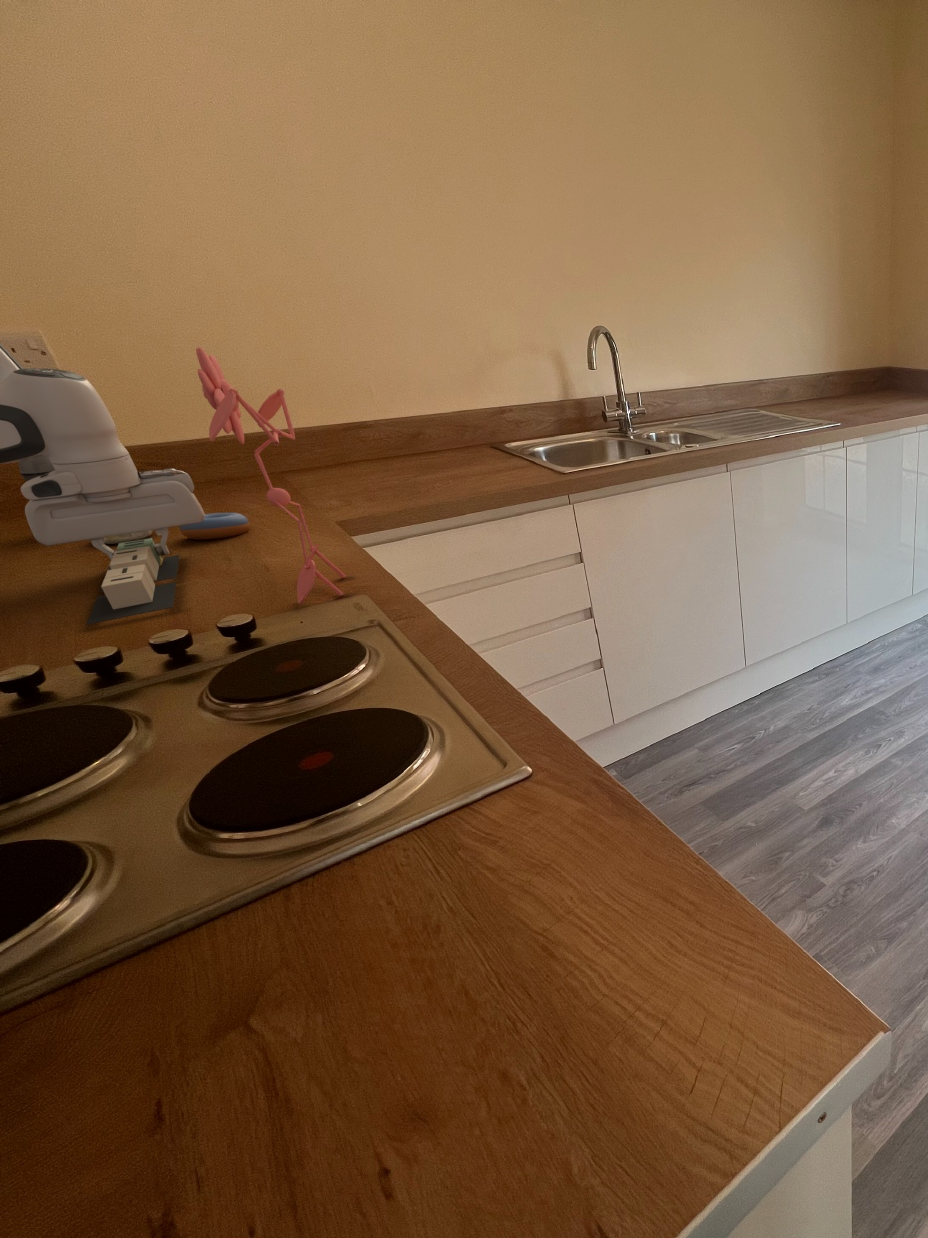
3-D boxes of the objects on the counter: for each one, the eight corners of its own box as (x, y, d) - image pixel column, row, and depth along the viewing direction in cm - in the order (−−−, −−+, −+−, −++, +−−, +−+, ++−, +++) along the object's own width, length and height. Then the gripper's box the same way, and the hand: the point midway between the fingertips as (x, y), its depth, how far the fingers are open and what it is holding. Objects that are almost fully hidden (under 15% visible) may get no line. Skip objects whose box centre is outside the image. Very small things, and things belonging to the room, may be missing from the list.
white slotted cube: (116, 600, 103) (104, 577, 102) (118, 592, 106) (106, 569, 105) (154, 593, 106) (142, 570, 104) (155, 585, 109) (144, 563, 107)
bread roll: (135, 530, 138) (126, 510, 136) (163, 534, 135) (154, 514, 133) (82, 542, 131) (71, 521, 129) (110, 547, 128) (99, 526, 126)
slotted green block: (126, 569, 115) (115, 548, 113) (128, 563, 118) (118, 542, 116) (160, 564, 117) (150, 543, 116) (161, 557, 120) (151, 537, 119)
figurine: (353, 561, 119) (275, 341, 104) (347, 612, 100) (250, 349, 84) (241, 579, 112) (139, 345, 97) (210, 638, 93) (76, 355, 77)
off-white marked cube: (123, 579, 111) (111, 557, 110) (125, 572, 114) (114, 550, 113) (158, 572, 114) (147, 551, 112) (159, 566, 117) (149, 545, 115)
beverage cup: (112, 524, 142) (60, 423, 133) (67, 534, 136) (10, 429, 127) (87, 521, 144) (35, 422, 135) (42, 532, 137) (-16, 428, 128)
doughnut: (239, 526, 139) (230, 504, 137) (262, 534, 134) (252, 511, 132) (177, 540, 131) (166, 517, 129) (198, 548, 127) (187, 524, 125)
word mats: (88, 628, 96) (85, 623, 96) (110, 570, 117) (108, 566, 117) (174, 610, 101) (172, 606, 101) (180, 558, 122) (179, 554, 122)
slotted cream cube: (120, 586, 108) (108, 564, 107) (122, 579, 111) (111, 557, 110) (156, 580, 111) (145, 558, 109) (158, 573, 114) (147, 551, 112)
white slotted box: (113, 609, 100) (100, 585, 99) (116, 601, 103) (103, 577, 101) (152, 602, 103) (140, 578, 101) (153, 594, 105) (142, 571, 104)
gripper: (186, 463, 119) (220, 540, 125) (12, 483, 107) (60, 567, 114) (185, 469, 115) (221, 549, 121) (4, 491, 103) (54, 577, 109)
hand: (141, 558), depth 117 cm, fingers closed on slotted green block, 4 cm apart
